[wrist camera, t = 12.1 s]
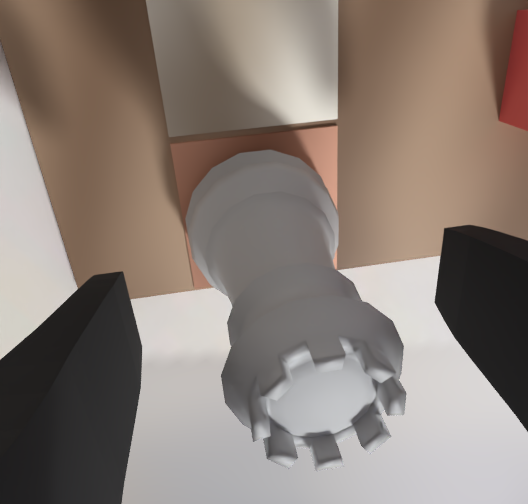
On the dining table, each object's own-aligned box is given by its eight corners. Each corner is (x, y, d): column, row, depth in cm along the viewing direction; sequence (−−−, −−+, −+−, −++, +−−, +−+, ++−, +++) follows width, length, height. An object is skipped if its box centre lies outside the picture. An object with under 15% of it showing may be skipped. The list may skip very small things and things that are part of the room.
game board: (676, -108, 12) (701, -115, 12) (581, 227, 17) (595, 234, 17) (-23, -65, 11) (-36, -69, 10) (87, 295, 15) (82, 307, 15)
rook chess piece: (153, 210, 14) (120, 423, 7) (271, 112, 13) (376, 234, 6) (247, 302, 16) (298, 539, 9) (355, 222, 15) (507, 411, 8)
